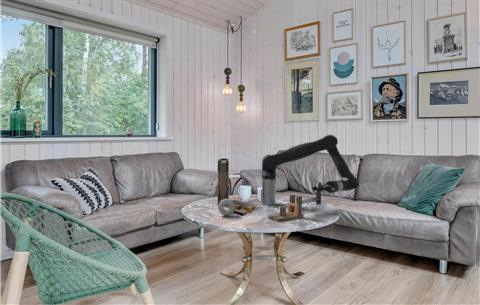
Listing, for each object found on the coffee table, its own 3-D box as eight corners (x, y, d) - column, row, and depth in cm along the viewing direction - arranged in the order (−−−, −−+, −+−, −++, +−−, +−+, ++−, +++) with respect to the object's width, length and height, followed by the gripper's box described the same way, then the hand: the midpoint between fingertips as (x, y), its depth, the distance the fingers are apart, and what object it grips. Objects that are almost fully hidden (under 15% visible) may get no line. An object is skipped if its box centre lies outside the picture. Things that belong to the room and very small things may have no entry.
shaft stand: (268, 218, 203) (268, 197, 203) (292, 214, 214) (292, 194, 214) (278, 221, 196) (279, 200, 195) (303, 217, 207) (303, 196, 206)
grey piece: (296, 206, 212) (297, 184, 211) (318, 203, 223) (318, 182, 222) (300, 207, 209) (300, 185, 209) (322, 204, 220) (322, 182, 219)
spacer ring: (287, 213, 211) (287, 202, 210) (290, 212, 212) (290, 202, 211) (296, 215, 205) (296, 205, 205) (298, 214, 206) (298, 204, 206)
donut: (218, 216, 207) (218, 199, 206) (217, 215, 210) (217, 198, 209) (235, 216, 208) (235, 199, 207) (234, 214, 211) (234, 198, 211)
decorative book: (228, 205, 237) (228, 160, 235) (217, 205, 237) (217, 160, 235) (229, 198, 260) (229, 157, 258) (219, 198, 260) (219, 157, 258)
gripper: (325, 179, 234) (307, 181, 224) (343, 182, 222) (324, 184, 212) (325, 190, 234) (306, 193, 224) (343, 194, 223) (324, 196, 213)
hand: (315, 188), depth 218 cm, fingers closed on grey piece, 3 cm apart
